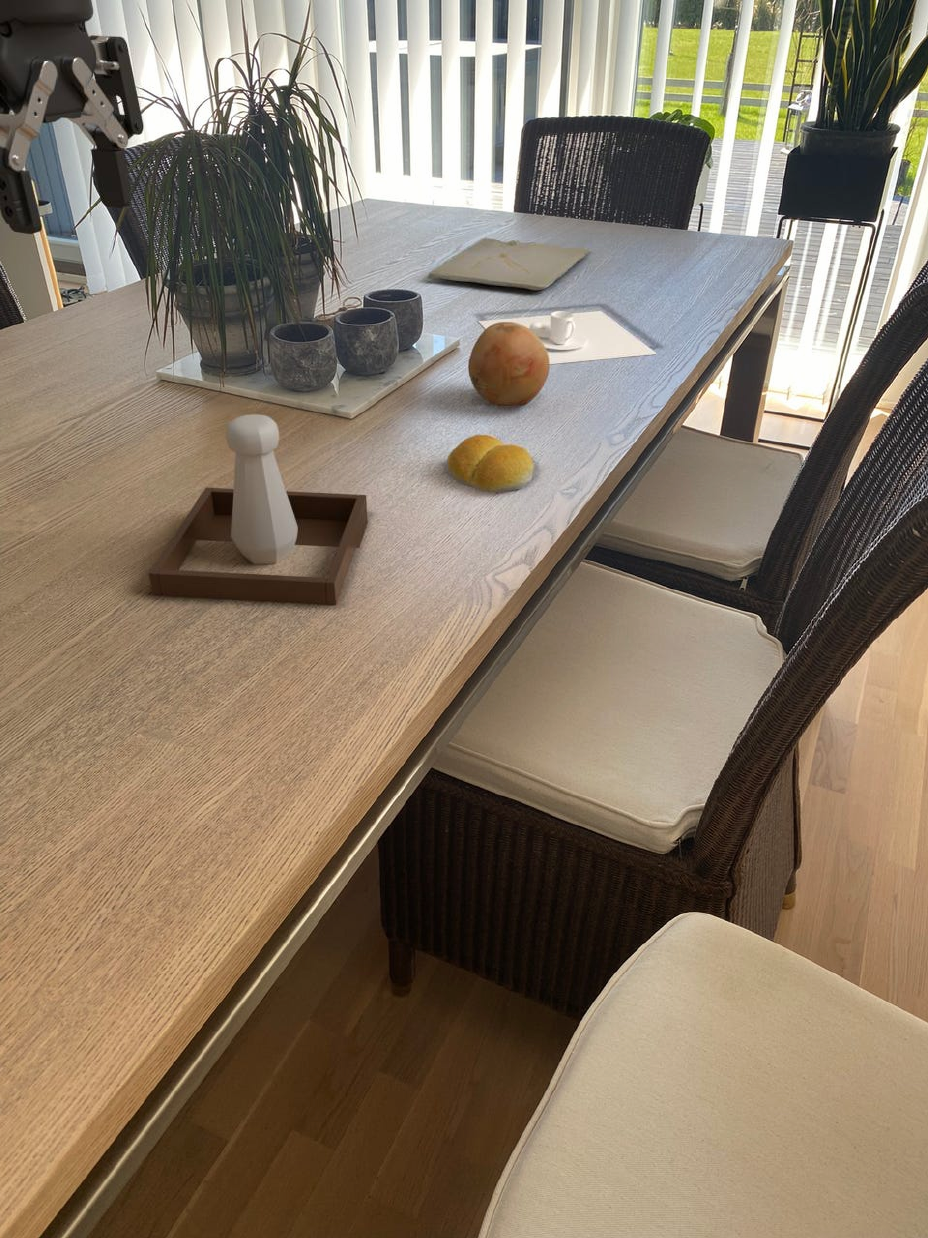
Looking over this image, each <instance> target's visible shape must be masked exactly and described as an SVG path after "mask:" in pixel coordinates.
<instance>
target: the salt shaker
mask: <svg viewBox="0 0 928 1238" xmlns="http://www.w3.org/2000/svg"><path fill="white" fill-rule="evenodd" d="M278 427H279V426H278V423H276V421H275V420H274V419H272V418H271V417H270V416H268V415H264V414H256V413H250V414H244V415H240V416H237V417H235V418H233V419H232V420H230V421H229V423H228V424H227V426H226V428H225V440H226V444H227V446H228V447H229V449H230V450H231V451H232V453H233V452H234V453H235V456H234V457H235V458H234V459H235V460H234V474H233V475H234V476H233V489H234V492H233V509H232V527H231V537H232V540H233V542H232V543H233V544H234V545H235V546H236V548H237V550H238V551H239V552H240V554H241V555H242V556H243V557H244V558H245V559H247V560H248V562H251V563H252V564H254V565H273V564H275V565H276V564H279V563H280V562H282V561H283V560H285V559H287V558H288V557H290V556H291V555H292V554H293V550H294V548H295V546H296V545H295V542H296V538H297V530H298V527H297V523H296V520H295V517H294V514H293V511H292V508H291V505H290V502H289V499H288V496H287V493H286V491H287V490H286V487H285V483H284V481H283V478H282V474H281V471H280V467H279V466H278V463H277V460H276V459H277V458H276V456H275V453H274V449H276V448H278V445H279V440H280V431H279V428H278Z"/></svg>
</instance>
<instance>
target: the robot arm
mask: <svg viewBox="0 0 928 1238" xmlns="http://www.w3.org/2000/svg"><path fill="white" fill-rule="evenodd" d="M93 16H94V7H93V2H92V0H0V214H1V217H2V219H3V221H4V223H5V224H6V225H9V226H8V227H9V228H10V229H11V230H12V231H13V233H19V234H25V235H34V234H37V233H40V232H41V231H42V230H43V225H42V220H41V216H40V211H39V207H38V204H37V198H36V194H35V190H34V186H33V182H32V178H31V177H32V176H31V173H30V170H25V169H24V168H25V166H26V161H27V158H28V154H29V150H30V147H31V144H32V141H33V140H34V139H36V138H37V137H38V136H39V134H40V132H41V128H42V125H43V124H49V123H55V122H57V121H58V120H60V119H62V118H63V119H67V120H69V121H70V122H71V123H74V124H76V125H77V126H78V128H79V129H80V131H81V132H82V133H83V134H84V136H85V137H86V138H87V139H88V141H89V142H90V143H91V144H92V146H94V147H95V148H90V154H91V159H92V163H93V170H94V173H95V179H96V183H97V188H98V189H97V190H98V195H99V199H100V202H101V204H103V206H105V207H107V208H109V207H110V208H117V209H123V208H126V207H129V206H130V205H131V203H132V200H131V196H132V184H131V180H130V179H131V178H130V174H129V167H128V162H127V155H126V148H127V147H128V145H129V140H130V139H131V138H133V136H134V135H136V136H139V135H142V134H143V132H144V127H145V126H144V121H143V115H142V110H141V106H140V101H139V95H138V90H137V86H136V81H135V75H134V73H133V72H134V71H133V67H132V66H133V65H132V61H131V56H130V52H129V46H128V43H127V41H126V39H125V38H124V37H122V36H116V35H115V36H114V35H113V36H112V35H94V34H93V35H89V33H88V31H87V26H86V22H88V21H90V20H91V19H92V18H93ZM117 97H118V98H119V99H120V102H121V105H122V106H121V107H122V111H123V113H120V108H119V103H118V98H117ZM11 111H12V112H13V113H14V114H10V112H11Z"/></svg>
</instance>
